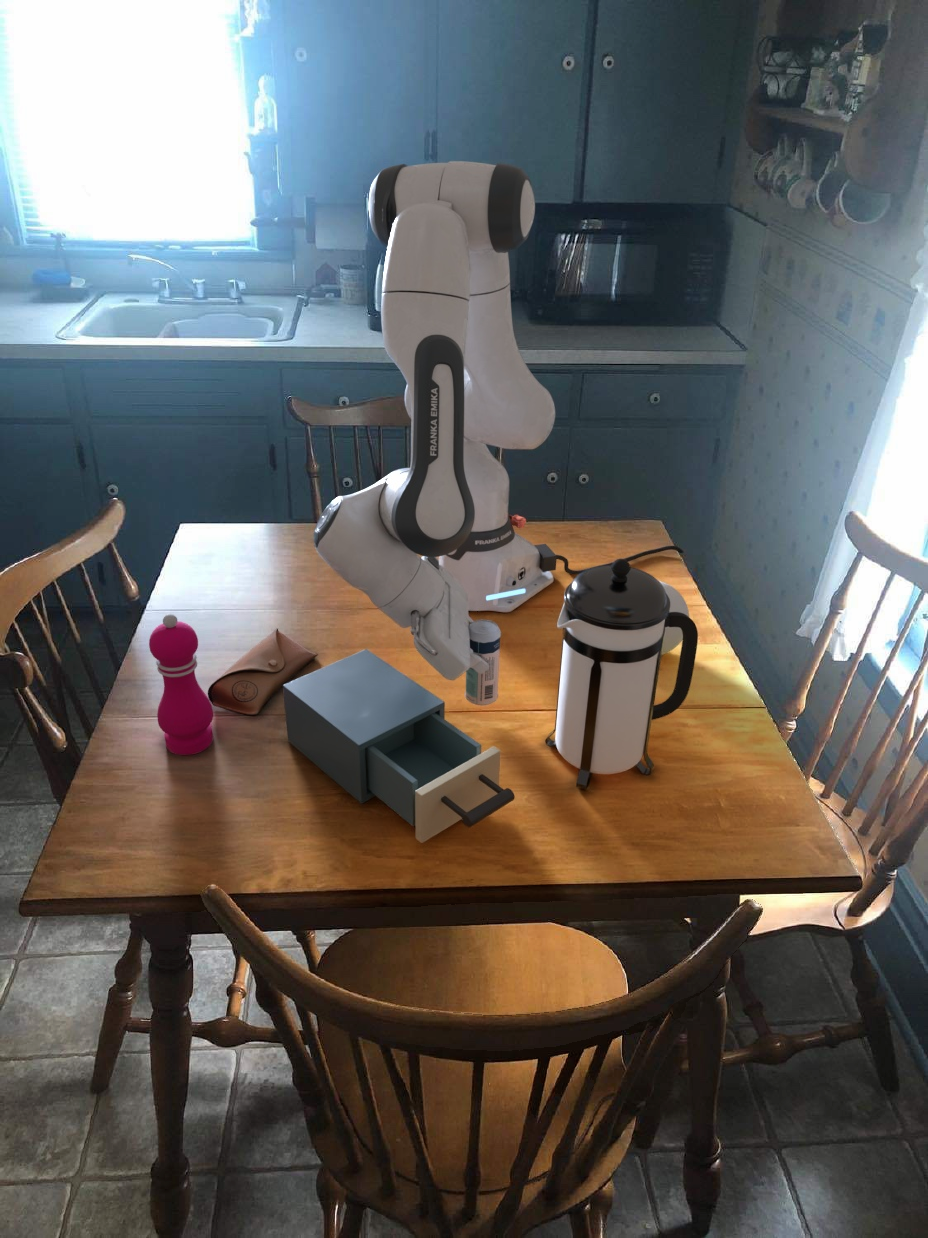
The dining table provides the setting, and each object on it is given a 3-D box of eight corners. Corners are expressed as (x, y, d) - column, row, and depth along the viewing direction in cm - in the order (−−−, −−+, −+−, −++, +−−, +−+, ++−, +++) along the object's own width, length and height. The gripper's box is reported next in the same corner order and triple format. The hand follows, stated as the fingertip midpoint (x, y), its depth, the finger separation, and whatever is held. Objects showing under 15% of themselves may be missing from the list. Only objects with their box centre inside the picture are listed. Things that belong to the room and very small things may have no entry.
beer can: (502, 692, 137) (505, 621, 131) (492, 710, 133) (495, 638, 127) (470, 685, 138) (472, 615, 132) (460, 703, 134) (461, 632, 128)
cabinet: (444, 758, 127) (445, 701, 122) (361, 804, 119) (358, 745, 114) (368, 702, 137) (366, 648, 133) (287, 741, 129) (282, 685, 125)
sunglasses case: (258, 715, 133) (233, 676, 131) (224, 726, 137) (200, 688, 135) (321, 652, 148) (299, 616, 146) (289, 663, 151) (268, 628, 150)
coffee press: (638, 812, 118) (670, 604, 103) (524, 770, 125) (538, 569, 110) (682, 739, 132) (716, 544, 116) (576, 704, 138) (595, 516, 123)
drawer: (529, 819, 116) (532, 772, 112) (452, 869, 108) (452, 820, 105) (419, 738, 129) (418, 694, 125) (343, 778, 122) (341, 732, 118)
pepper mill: (167, 726, 132) (145, 601, 122) (220, 724, 132) (202, 599, 122) (157, 759, 126) (133, 630, 115) (213, 757, 126) (193, 629, 116)
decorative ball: (608, 627, 157) (615, 563, 151) (681, 634, 155) (692, 570, 149) (606, 667, 147) (614, 600, 141) (685, 674, 145) (696, 607, 139)
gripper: (428, 621, 117) (505, 686, 122) (430, 546, 134) (497, 605, 139) (393, 651, 119) (469, 713, 124) (400, 573, 136) (466, 631, 142)
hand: (484, 656), depth 132 cm, fingers closed on beer can, 5 cm apart
